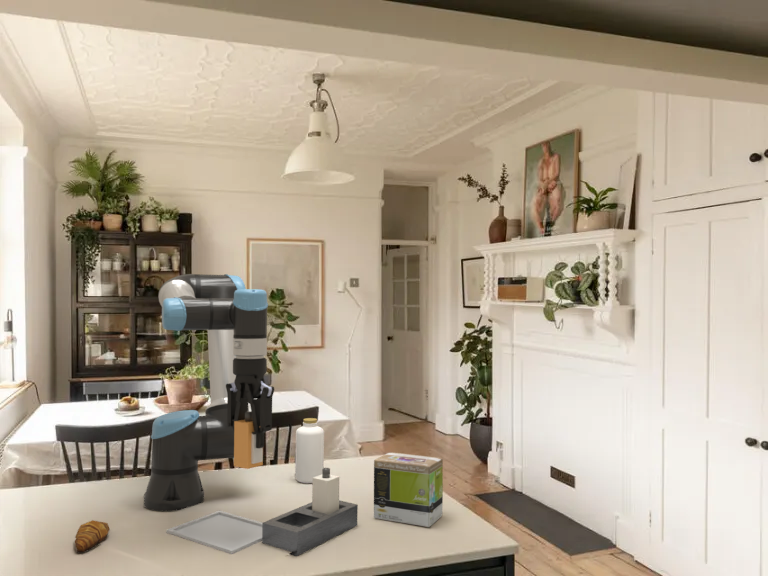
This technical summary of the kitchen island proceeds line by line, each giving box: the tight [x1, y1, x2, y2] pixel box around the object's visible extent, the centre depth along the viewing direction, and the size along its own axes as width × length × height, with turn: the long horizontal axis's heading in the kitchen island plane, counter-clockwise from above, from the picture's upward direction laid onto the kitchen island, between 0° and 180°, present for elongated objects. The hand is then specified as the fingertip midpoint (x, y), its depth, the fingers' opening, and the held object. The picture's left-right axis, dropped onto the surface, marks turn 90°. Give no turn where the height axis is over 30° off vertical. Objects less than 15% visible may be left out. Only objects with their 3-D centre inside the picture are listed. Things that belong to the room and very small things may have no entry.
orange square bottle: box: [233, 410, 264, 470], centre depth 145 cm, size 4×4×12 cm
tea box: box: [373, 451, 444, 528], centre depth 160 cm, size 15×10×15 cm, turn 65°
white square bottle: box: [311, 467, 340, 514], centre depth 152 cm, size 4×4×12 cm
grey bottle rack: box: [261, 499, 359, 557], centre depth 147 cm, size 10×22×5 cm, turn 147°
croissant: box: [74, 519, 110, 554], centre depth 142 cm, size 14×7×5 cm, turn 2°
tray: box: [165, 510, 264, 555], centre depth 147 cm, size 21×16×1 cm
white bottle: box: [294, 417, 325, 484], centre depth 190 cm, size 8×8×18 cm
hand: (248, 460), depth 145 cm, fingers closed on orange square bottle, 4 cm apart
